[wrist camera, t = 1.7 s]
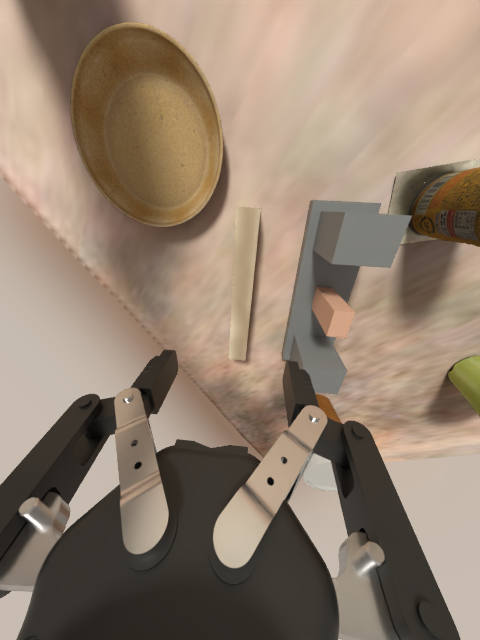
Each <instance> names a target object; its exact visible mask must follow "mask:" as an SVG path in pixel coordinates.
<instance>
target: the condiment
mask: <svg viewBox="0 0 480 640" xmlns="http://www.w3.org/2000/svg"><path fill="white" fill-rule="evenodd" d="M424 182H426V183H424ZM388 214H390V215H410V216H412V217H411V219H410V222H409V224H408V227H407V229H406V231H405V234H404V236H403V239H402V241H401V243H400V244H406V243H414V242H421V241H429V240H437V239H440V240H444V241H454V242H459V243H466V244H473V245H475V246H478V247H480V159H475V160H470V161H464V162H458V163H452V164H446V165H441V166H434V167H429V168H423V169H417V170H411V171H405V172H400V173H397V176H396V181H395V184H394V189H393V193H392V199H391V202H390V208H389V213H388Z"/></svg>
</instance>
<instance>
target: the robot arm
mask: <svg viewBox="0 0 480 640" xmlns="http://www.w3.org/2000/svg"><path fill="white" fill-rule="evenodd" d="M177 372H178V362H177V355H176V351H175V350H163V352H162V353H161V355H160V356H156V357H154V358H153V359H151V360H150V361H149V363H148V364H147V365H146V367H145V368H144V370H143V372H141V374H140V375H139V376H138V378H137V379H136V381H135V382H134V383H133V385H132V386H131V388H128V389H125V390H123V391H121V392H120V393H119V394H118V395H117V396H116V397H113V398H107V399H101V400H100V398H99V396H98V395H96V394H88V395H85V396H82V397H81V398H79V399H77V400H76V401H75V402H74V403H73V404H72V405H71V406H70V407H69V408H68V409H67V411H66V412H65V413H64V414H63V415H62V416H61V417H60V419H59V420H58V421H57V422H56V423H55V424H54V425H53V426H52V428H51V429H50V430H49V431H48V432H47V433H46V434H45V435H44V437H43V438H42V439H41V440H40V441H39V442H38V444H37V445H36V446H35V447H34V448H33V449H32V450H31V451H30V453H29V454H28V455H27V456H26V457H25V458H24V459H23V460H22V462H21V463H20V464H19V465H18V466H17V467H16V468H15V469H14V471H13V472H12V473H11V474H10V475H9V476H8V477H7V479H6V480H5V481H4V482H3V483H2V484H1V485H0V598H2V597H3V596H5V595H7V594H8V593H9V592H11V591H29V592H33V594H32V597H31V602H30V605H29V608H28V611H27V614H26V617H25V620H24V622H23V625H22V628H21V630H20V633H19V635H18V637H17V640H338V639H342V640H460V637H459V634H458V631H457V629H456V626H455V624H454V621H453V619H452V617H451V614H450V612H449V610H448V608H447V605H446V603H445V601H444V599H443V596H442V594H441V592H440V589H439V587H438V585H437V583H436V581H435V578H434V576H433V574H432V571H431V569H430V567H429V565H428V562H427V560H426V558H425V555H424V553H423V551H422V549H421V546H420V544H419V542H418V540H417V537H416V535H415V533H414V530H413V528H412V526H411V523H410V521H409V519H408V517H407V514H406V512H405V510H404V508H403V505H402V503H401V501H400V498H399V496H398V494H397V492H396V489H395V487H394V485H393V483H392V480H391V478H390V476H389V473H388V471H387V469H386V467H385V464H384V462H383V460H382V457H381V455H380V453H379V451H378V448H377V446H376V444H375V442H374V439H373V437H372V435H371V433H370V431H369V430H368V429H367V428H366V427H365V426H364V425H362V424H361V423H358V422H356V421H347V422H346V423H345V424H342V423H339V422H337V421H334V420H332V419H330V418H328V417H327V416H326V414H325V413H324V412H323V411H322V410H321V409H320V407H319V404H318V401H317V398H316V395H315V391H314V388H313V385H312V383H311V378H310V375H309V374H308V373H307V372H306V370H304V369H300V368H299V365H298V362H297V361H286V365H285V369H284V374H283V390H284V397H285V405H286V412H287V419H288V427H289V429H288V430H287V431H284V432H283V433H282V434H281V436H280V437H279V438H278V440H277V441H276V442H275V444H274V445H273V446H272V448H271V449H270V450H269V452H268V453H267V455H266V456H265V457H264V459H263V460H262V461H260V460H258V459H257V458H256V457H254V456H252V455H251V454H249V453H247V452H248V448H247V447H242V446H232V445H228V446H222V447H216V448H209V447H207V446H204V445H202V444H199V443H197V442H195V441H187V440H179V439H178V440H176V443H175V445H174V446H170V447H167V448H165V449H162V450H161V451H159V452H157V451H156V447H155V443H154V439H153V436H152V431H151V428H150V424H149V420H148V418H149V416H150V414H157V413H158V411H159V409H160V407H161V405H162V403H163V401H164V399H165V397H166V395H167V393H168V391H169V389H170V387H171V385H172V383H173V381H174V379H175V377H176V375H177ZM112 434H115V438H116V449H117V459H118V471H119V481H120V485H118V486H117V487H116V488H115V489H114V490H112V491H111V492H110V493H109V494H108V495H106V496H105V497H104V498H103V499H102V500H101V501H99V502H98V503H97V504H96V505H95V506H94V507H92V508H91V509H90V510H89V511H88V512H87V513H85V514H84V515H83V516H82V517H81V518H80V519H78V520H77V521H76V522H75V523H74V524H73V525H71V526H70V527H69V528H68V529H67V530H66V532H64V530H65V527H66V524H67V521H68V519H69V516H70V507H69V505H68V504H69V503H70V501H71V499H72V498H73V496H74V494H75V492H76V491H77V489H78V488H79V485H80V484H81V483H82V481H83V479H84V477H85V476H86V474H87V472H88V471H89V469H90V467H91V466H92V464H93V462H94V461H95V459H96V457H97V456H98V454H99V452H100V451H101V449H102V447H103V445H104V444H105V442H106V441H107V439H108V437H109V436H110V435H112ZM314 453H315V454H317V455H319V456H321V457H323V458H326V459H328V460H330V461H331V464H332V469H333V473H334V477H335V482H336V486H337V490H338V495H339V499H340V503H341V508H342V512H343V516H344V520H345V524H346V529H347V534H348V538H347V539H346V540H345V541H344V542H343V543H342V545H341V546H340V549H339V574H338V576H337V578H331V575H330V573H329V570H328V568H327V566H326V564H325V562H324V561H323V559H322V557H321V555H320V554H319V552H318V551H317V549H316V547H315V546H314V544H313V542H312V541H311V539H310V538H309V536H308V534H307V533H306V531H305V530H304V528H303V526H302V525H301V523H300V522H299V520H298V518H297V517H296V515H295V514H294V512H293V510H292V509H291V507H290V506H289V504H288V502H289V500H290V499H291V497H292V494H293V493H294V491H295V489H296V487H297V485H298V483H299V481H300V479H301V477H302V475H303V473H304V471H305V469H306V467H307V466H308V464H309V462H310V460H311V458H312V456H313V454H314ZM63 532H64V533H63Z"/></svg>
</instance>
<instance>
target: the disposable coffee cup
mask: <svg viewBox="0 0 480 640" xmlns="http://www.w3.org/2000/svg"><path fill="white" fill-rule="evenodd" d="M316 398H317V401H318V404H319V407H320V409H321V410H322V411H323V412H324V413H325V414H326V416H327V417H328V418H330V419H332V420H334V421H337V422H339V423H341V421H340V419H339V417H338V416H337V414H336V412H335V410H334V408H333V406H332V404H331V402H330V400H329V399H328V398H326V397H325V396H322V395H316ZM302 476H303V479H304V481H305V482H306V483H307V484H308V485H309V486H311V487H313V488H316V489H319V490H324V491H338V490H337V486H336V482H335V477H334V473H333V469H332V464H331V461H330V460H328V459H326V458H323V457H321V456H319V455H317V454H315V453H314V454H313V456H312V458H311V460H310V462H309V464H308V466H307V467H306V469H305V471H304V473H303V475H302Z"/></svg>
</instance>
